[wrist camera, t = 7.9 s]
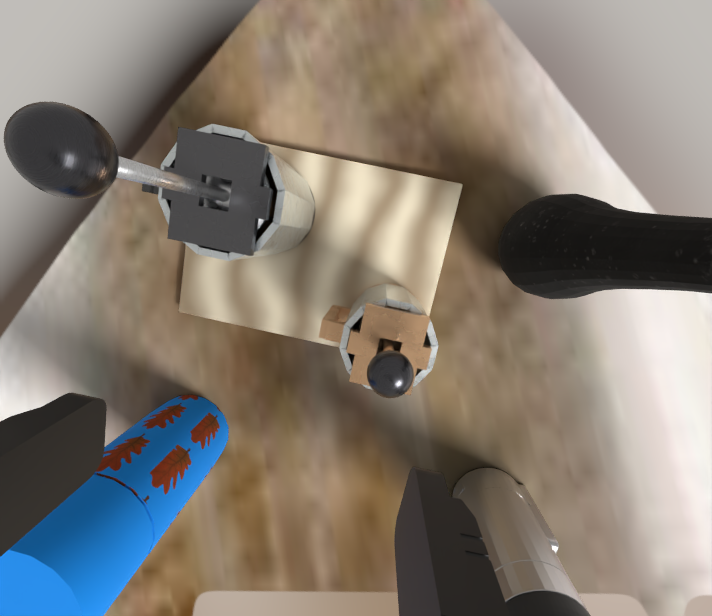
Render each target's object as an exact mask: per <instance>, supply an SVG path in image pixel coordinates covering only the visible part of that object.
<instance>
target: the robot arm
mask: <svg viewBox="0 0 712 616" xmlns="http://www.w3.org/2000/svg"><path fill="white" fill-rule="evenodd" d="M105 426H106V403H105V401H104V400H103V399H99V398H95V397H90V396H85V395H81V394H76V393H67V394H65V395H63V396H61V397H59V398H57V399H56V400H54V401H52V402H50V403H48V404H46V405H44V406H42V407H41V408H37V409H33V410H30V411H27V412H24V413H20V414H17V415H14V416H11V417H9V418H7V419H5V420H3V421H1V422H0V557H1V556H2V555H3V554H4V553H5V552H6V551H8V550H9V549H10V548H11V547H12V546H13V545H14V544H16V543H17V542H18V541H19V540H20V539H21V538H22V537H24V536H25V535H26V534H27V533H28V532H29V531H30V530H32V529H33V528H34V527H35V526H36V525H37V524H38V523H40V522H41V521H42V520H43V519H44V518H45V517H46V516H48V515H49V514H50V513H51V512H52V511H53V510H54V509H56V508H57V507H58V506H59V505H60V504H61V503H62V502H64V501H65V500H66V499H67V498H68V497H69V496H70V495H72V494H73V493H74V492H75V491H76V490H77V489H78V488H79V487H81V486H82V485H83V484H84V483H85V482H86V481H87V480H89V479H90V478H91V477H92V475H93V474H94V473H95V472H96V470H97V469H98V467H99V465H100V463H101V461H102V458H103V455H104V444H105ZM557 550H558V542H557V540H556V538H555V537H554V535H553V533H552V532H551V530H550V528H549V526H548V525H547V523H546V521H545V520H544V518H543V516H542V514H541V513H540V511H539V509H538V507H537V506H536V504H535V502H534V501H533V499H532V497H531V495H530V494H529V492H528V490H527V489H526V487H525V486H524V485H520V484H518V483H517V482H516V481H515V480H514V479H513V478H512V477H511V476H510V475H508V474H507V473H505V472H503V471H501V470H498V469H494V468H480V469H476V470H473V471H470V472H469V473H467V474H465V475H464V476H463V477H462V478H460V480H459V481H458V482H457V484H456V485H455V488H454V490H453V495H452V497H450V496H449V493H448V489H447V486H446V482H445V479H444V476H443V474H442V473H440V472H435V471H431V470H426V469H421V468H417V467H412V468H411V470H410V473H409V476H408V480H407V484H406V487H405V491H404V494H403V498H402V502H401V505H400V509H399V512H398V516H397V521H396V528H395V559H396V573H397V588H398V603H399V616H590V614H589V612H588V611H587V609H586V607H585V605H584V604H583V602H582V600H581V598H580V596H579V594H578V592H577V591H576V589H575V587H574V585H573V583H572V582H571V580H570V578H569V576H568V575H567V573H566V571H565V569H564V567H563V566H562V564H561V562H560V560H559V558H558V557H557V555H556V553H557Z"/></svg>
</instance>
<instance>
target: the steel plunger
mask: <svg viewBox="0 0 712 616" xmlns="http://www.w3.org/2000/svg"><path fill="white" fill-rule="evenodd" d="M4 145H5V149H6V153H7V155H8V157H9V159H10V161H11V163H12V164H13V166H14V167H15V168H16V170H17V171H18V172H19V173H20V174H21V176H23V177H24V178H25V179H26V180H27V181H28V182H30V183H31V184H32V185H34V186H35V187H37V188H39V189H40V190H42V191H44V192H47V193H49V194H52V195H55V196H58V197H63V198H69V199H83V198H89V197H92V196H96V195H98V194H100V193H102V192H103V191H105V190H106V189H107V188H109V187H110V185H111V184H112V183H113V182H114V180H115V178H116V177H117V178H122V179H126V180H130V181H135V182H139V183H144V184H148V185H152V186H157V187H161V188H165V189H170V190H174V191H178V192H183V193H187V194H191V195H196V196H200V197H204V206H203V207H207V208H212V209H216V210H221V211H226V212H228V209H229V201H230V193H231V186H232V181H229V180H224V179H220V178H215V177H210V176H207V180H206V183H203V182H200V181H197V180H193V179H190V178H187V177H184V176H181V175H177V174H174V173H171V172H168V171H165V170H161V169H158V168H155V167H152V166H149V165H145V164H142V163H139V162H136V161H133V160H129V159H126V158H123V157H120V156H118V152H117V149H116V146H115V144H114V142H113V140H112V138H111V136H110V135H109V133H108V132H107V131H106V130H105V128H103V126H101V125H100V123H99V122H98V121H96V120H95V119H94V118H92V117H91V116H90V115H88V114H86V113H85V112H83V111H81V110H79V109H77V108H75V107H72V106H69V105H66V104H62V103H56V102H38V103H33V104H29V105H26V106H24V107H22V108H21V109H19V110H18V111H16V112H15V113H14V114H13V115H12V116H11V117H10V119H9V120H8V122H7V124H6V127H5V131H4ZM264 187H266V188H270V184H269V181H268V178H267V176H266V174H265V180H264ZM265 222H266V220H263V219H259V221H258V228H257V232H258V231H259V230H260V229H261V228H262V226H263V225H264V223H265Z"/></svg>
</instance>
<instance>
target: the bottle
mask: <svg viewBox="0 0 712 616" xmlns="http://www.w3.org/2000/svg"><path fill="white" fill-rule="evenodd" d="M498 256H499V259H500V263H501V266H502V269H503V271H504V272H505V274H506V275H507V276H508V278H509V279H510V281H511V282H512V283H513V284H514V285H516V286H517V287H519V288H520V289H522V290H523V291H524V292H527V293H530V294H533V295H537V296H540V297H544V298H549V299H567V298H576V297H581V296H585V295H588V294H591V293H594V292H597V291H602V290H611V289H658V290H681V291H694V292H704V293H712V218H703V217H702V218H701V217H686V216H671V215H660V214H650V213H639V212H632V211H627V210H622V209H617V208H615V207H613V206H611V205H610V204H608V203H606V202H603V201H600V200H597V199H594V198H590V197H587V196H583V195H579V194H561V195H549V196H545V197H542V198H539V199H537V200H534V201H531V202H529V203H528V204H527V205H525V206H524V207H523V208H521V209H520V210H519V211H517V212H516V213H515V214H514V215H513V216H512V217H511V219H510V220H509V221H508V223H507V224H506V225H505V227H504V228H503V231H502V234H501V236H500V239H499V244H498Z"/></svg>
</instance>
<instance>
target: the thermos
mask: <svg viewBox="0 0 712 616" xmlns="http://www.w3.org/2000/svg"><path fill="white" fill-rule="evenodd" d="M227 441H228V425H227V422H226V419H225V417H224V415H223V414H222V412H221V411H220V410H219V409H218V407H217V406H216V405H214V404H213V403H211V402H210V401H208V400H207V399H205V398H202V397H198V396H195V395H182V396H178V397H176V398H174V399H171V400H169V401H168V402H166V403H165V404H163V405H161V406H160V407H158V408H157V409H155V410H154V411H152V412H151V413H149V414H148V415H147V416H145V417H144V418H143V419H141V420H140V421H139V422H137V423H136V424H135V425H134V426H132V427H131V428H130V429H128V430H127V431H126V432H124V433H123V434H122V435H120V436H119V437H118V438H116V439H115V440H114V441H112V442H111V443H110V444H108V445H107V446H106V447H104V455H103V458H102V461H101V463H100V465H99V467H98V469H97V470H96V472H95V473H94V474H93V475H92V477H91V478H90V479H89V480H87V481H86V482H85V483H84V484H83V485H82V486H81V487H79V488H78V489H77V490H76V491H75V492H74V493H73V494H72V495H70V496H69V497H68V498H67V499H66V500H65V501H64V502H62V503H61V504H60V505H59V506H58V507H57V508H56V509H54V510H53V511H52V512H51V513H50V514H49V515H48V516H46V517H45V518H44V519H43V520H42V521H41V522H40V523H38V524H37V525H36V526H35V527H34V528H33V529H32V530H30V531H29V532H28V533H27V534H26V535H25V536H24V537H22V538H21V539H20V540H19V541H18V542H17V543H16V544H14V545H13V546H12V547H11V548H10V549H9V550H8V551H6V552H5V553H4V554H3V555H2V556H1V557H0V616H103V615H104V614H105V613H106V611H107V610H108V609H109V607H110V606H111V605H112V603H113V602H114V601H115V599H116V598H117V596H118V595H119V594H120V592H121V591H122V590H123V588H124V587H125V586H126V584H127V583H128V581H129V580H130V579H131V577H132V576H133V575H134V573H135V572H136V571H137V569H138V568H139V567H140V565H141V564H142V562H143V561H144V560H145V558H146V557H147V555H148V554H149V553H150V552H151V550H152V549H153V548H154V546H155V545H156V543H157V542H158V541H159V539H160V538H161V537H162V535H163V534H164V533H165V531H166V530H167V528H168V527H169V526H170V524H171V523H172V522H173V520H174V519H175V518H176V516H177V515H178V514H179V512H180V511H181V509H182V508H183V507H184V505H185V504H186V503H187V501H188V500H189V499H190V497H191V496H192V495H193V493H194V492H195V490H196V489H197V488H198V486H199V485H200V484H201V482H202V481H203V480H204V478H205V477H206V476H207V474H208V473H209V471H210V470H211V469H212V467H213V466H214V464H215V463H216V461H217V459H218V458H219V456H220V455H221V453H222V452H223V450H224V448H225V446H226V443H227Z"/></svg>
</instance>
